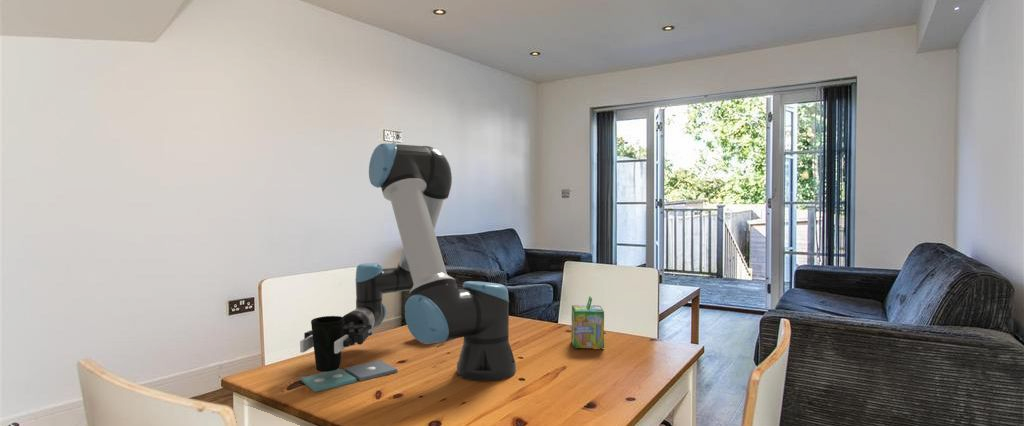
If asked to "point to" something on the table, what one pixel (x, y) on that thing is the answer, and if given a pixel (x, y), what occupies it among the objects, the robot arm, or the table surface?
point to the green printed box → (587, 326)
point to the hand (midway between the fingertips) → (318, 347)
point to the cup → (327, 342)
